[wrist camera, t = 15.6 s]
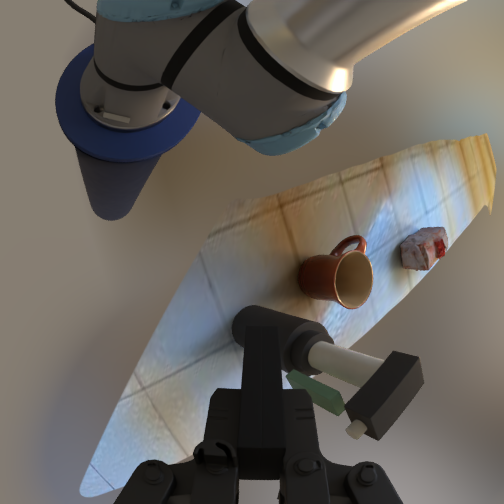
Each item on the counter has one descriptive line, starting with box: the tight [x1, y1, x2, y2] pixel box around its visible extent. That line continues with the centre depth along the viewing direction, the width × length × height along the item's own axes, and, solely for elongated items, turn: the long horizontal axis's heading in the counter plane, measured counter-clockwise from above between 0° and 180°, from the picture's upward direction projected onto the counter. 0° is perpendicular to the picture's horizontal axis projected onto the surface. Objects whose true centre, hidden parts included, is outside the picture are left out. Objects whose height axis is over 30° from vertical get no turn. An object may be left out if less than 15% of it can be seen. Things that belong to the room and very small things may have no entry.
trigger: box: [286, 369, 345, 416], centre depth 26 cm, size 1×3×7 cm, turn 30°
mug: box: [298, 235, 373, 309], centre depth 47 cm, size 12×9×10 cm
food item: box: [400, 227, 448, 271], centre depth 62 cm, size 14×8×10 cm, turn 115°
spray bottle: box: [232, 305, 424, 441], centre depth 33 cm, size 10×7×28 cm
